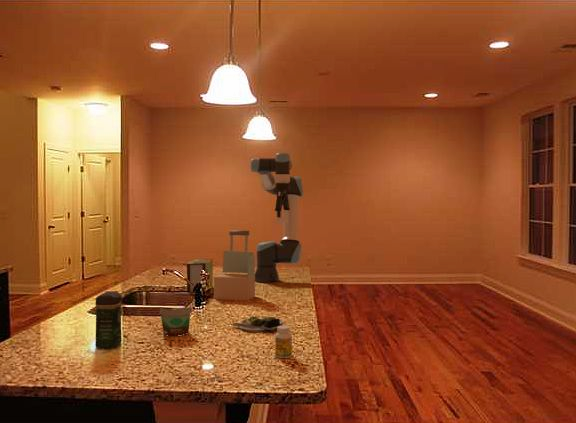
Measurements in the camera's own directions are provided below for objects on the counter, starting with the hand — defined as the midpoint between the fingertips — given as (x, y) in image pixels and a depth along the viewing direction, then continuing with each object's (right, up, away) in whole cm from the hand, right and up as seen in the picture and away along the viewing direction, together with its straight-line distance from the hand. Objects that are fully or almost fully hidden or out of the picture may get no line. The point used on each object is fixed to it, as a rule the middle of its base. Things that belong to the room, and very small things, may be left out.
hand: (282, 223), depth 264 cm
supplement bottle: (+1, -41, -102) cm, 110 cm away
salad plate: (-7, -40, -66) cm, 78 cm away
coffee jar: (-59, -40, -91) cm, 116 cm away
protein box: (-45, -37, +8) cm, 58 cm away
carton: (-24, -37, -12) cm, 46 cm away
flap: (-23, -14, -8) cm, 28 cm away
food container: (-38, -40, -78) cm, 95 cm away
